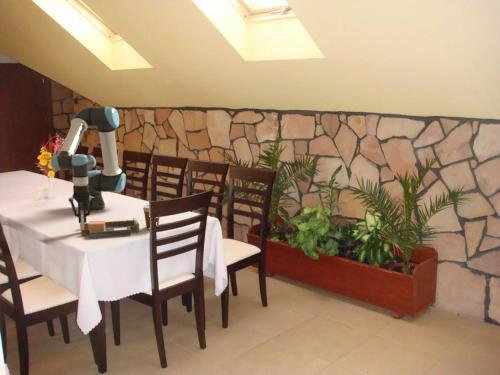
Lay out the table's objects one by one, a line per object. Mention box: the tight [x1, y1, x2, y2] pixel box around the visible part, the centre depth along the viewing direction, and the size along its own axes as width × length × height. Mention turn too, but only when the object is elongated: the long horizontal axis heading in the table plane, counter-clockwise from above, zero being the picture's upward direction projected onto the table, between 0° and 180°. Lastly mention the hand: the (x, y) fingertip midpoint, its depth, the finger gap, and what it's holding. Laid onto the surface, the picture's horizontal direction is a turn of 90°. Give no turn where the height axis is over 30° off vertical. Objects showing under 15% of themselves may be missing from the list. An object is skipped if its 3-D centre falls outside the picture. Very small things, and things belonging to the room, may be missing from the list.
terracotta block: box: [87, 220, 106, 232], centre depth 274 cm, size 6×8×5 cm
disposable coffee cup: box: [142, 204, 160, 230], centre depth 282 cm, size 10×10×12 cm
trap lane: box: [79, 217, 140, 239], centre depth 274 cm, size 19×29×4 cm, turn 110°
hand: (82, 228), depth 272 cm, fingers closed
